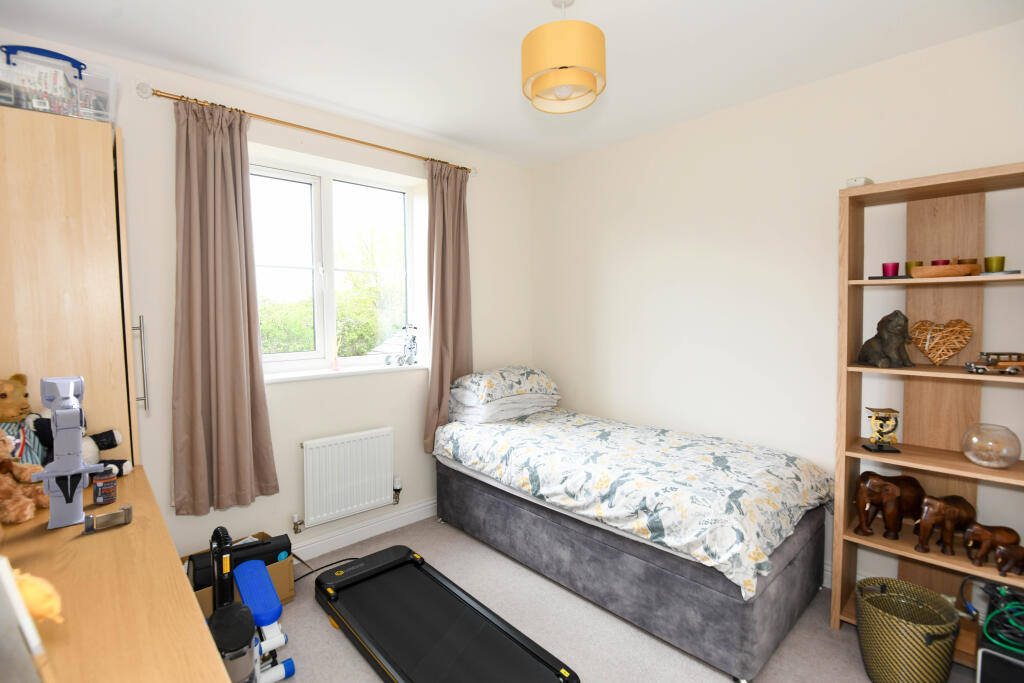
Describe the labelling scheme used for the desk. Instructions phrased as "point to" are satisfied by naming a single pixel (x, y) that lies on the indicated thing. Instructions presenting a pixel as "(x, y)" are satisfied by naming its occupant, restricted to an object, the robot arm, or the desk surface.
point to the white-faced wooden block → (126, 506)
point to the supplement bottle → (104, 487)
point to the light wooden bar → (113, 518)
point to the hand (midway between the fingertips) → (69, 502)
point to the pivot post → (89, 524)
